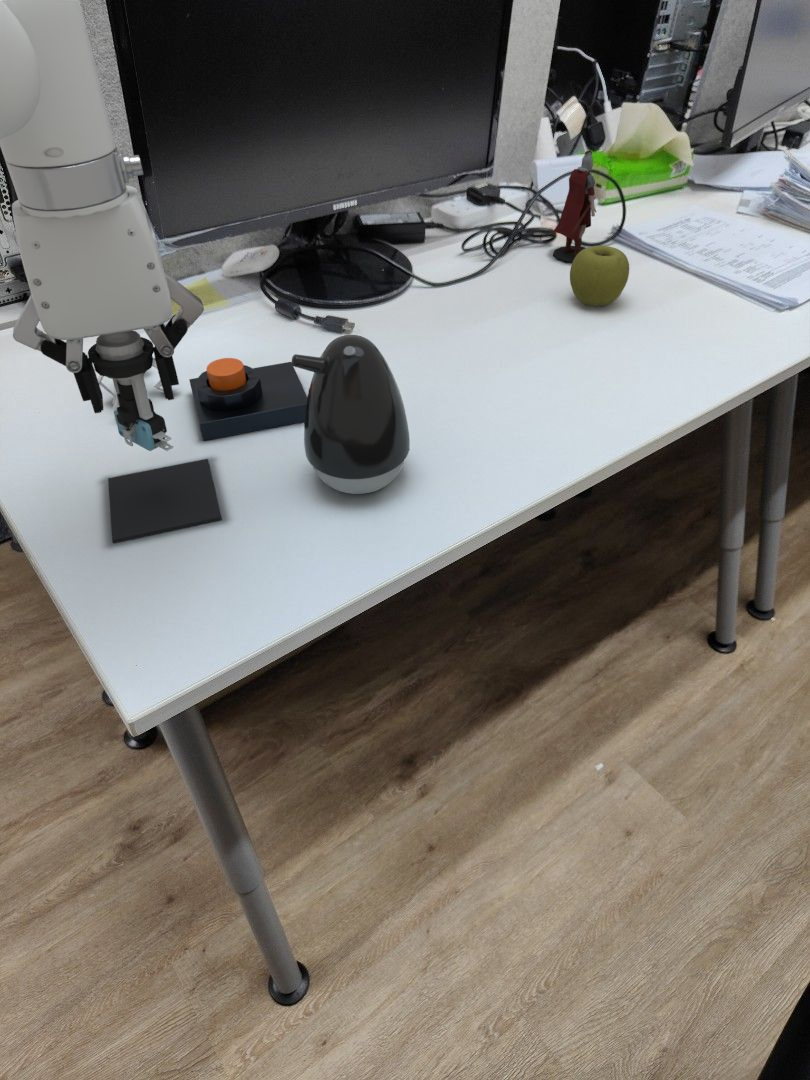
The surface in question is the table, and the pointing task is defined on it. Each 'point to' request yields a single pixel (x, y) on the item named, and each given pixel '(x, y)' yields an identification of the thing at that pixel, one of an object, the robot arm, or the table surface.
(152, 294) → the robot arm
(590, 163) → the figurine
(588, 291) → the apple
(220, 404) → the station
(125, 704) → the table surface
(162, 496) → the pad
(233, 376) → the orange short cylinder
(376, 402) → the pump dispenser
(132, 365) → the push button
